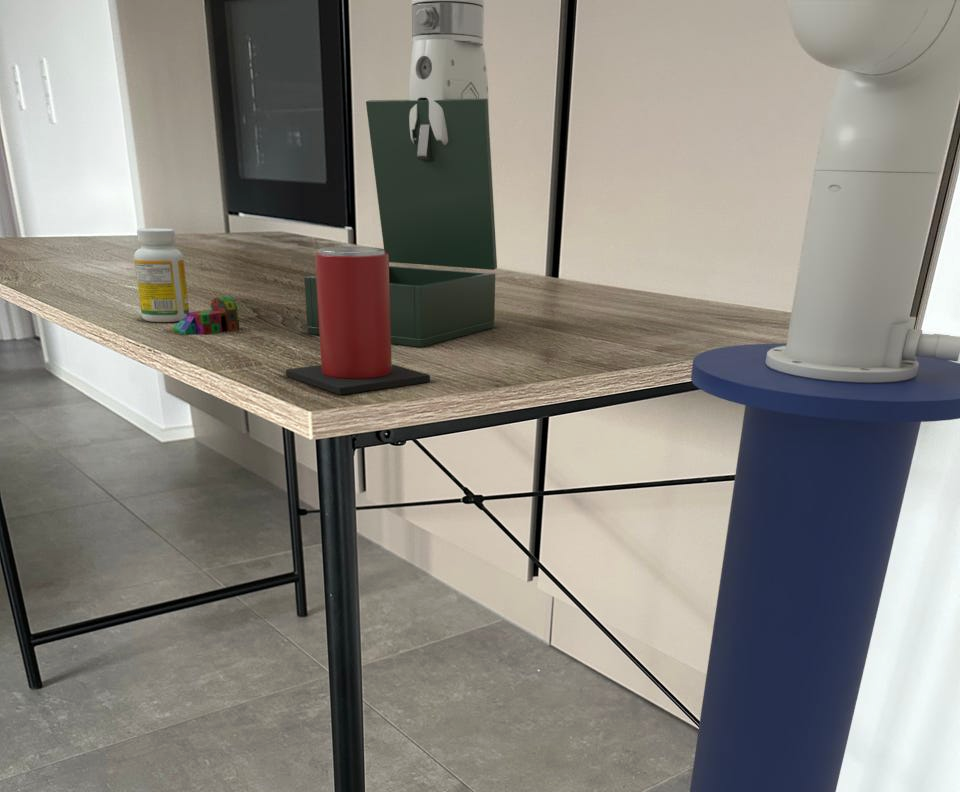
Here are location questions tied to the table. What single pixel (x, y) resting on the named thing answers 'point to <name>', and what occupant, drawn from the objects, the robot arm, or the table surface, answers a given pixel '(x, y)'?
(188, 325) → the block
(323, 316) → the can
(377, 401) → the table surface
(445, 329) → the bin
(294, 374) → the mat
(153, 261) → the supplement bottle
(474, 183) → the bin lid
